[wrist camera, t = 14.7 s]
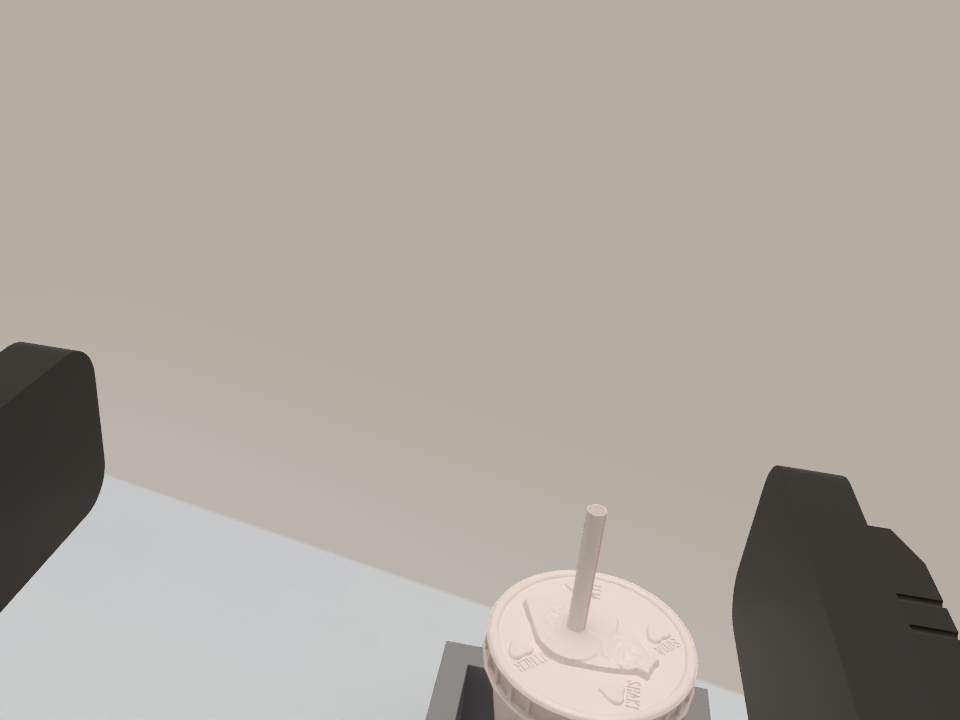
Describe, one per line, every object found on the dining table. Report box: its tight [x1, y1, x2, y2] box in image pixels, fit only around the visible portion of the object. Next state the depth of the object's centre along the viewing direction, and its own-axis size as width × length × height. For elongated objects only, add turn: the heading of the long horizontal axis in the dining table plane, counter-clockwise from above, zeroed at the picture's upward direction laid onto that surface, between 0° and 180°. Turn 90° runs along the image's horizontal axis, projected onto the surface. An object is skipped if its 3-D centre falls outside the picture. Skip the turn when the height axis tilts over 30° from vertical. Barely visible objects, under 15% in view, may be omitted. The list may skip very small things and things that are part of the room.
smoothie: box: [483, 504, 698, 720], centre depth 27 cm, size 6×6×14 cm
